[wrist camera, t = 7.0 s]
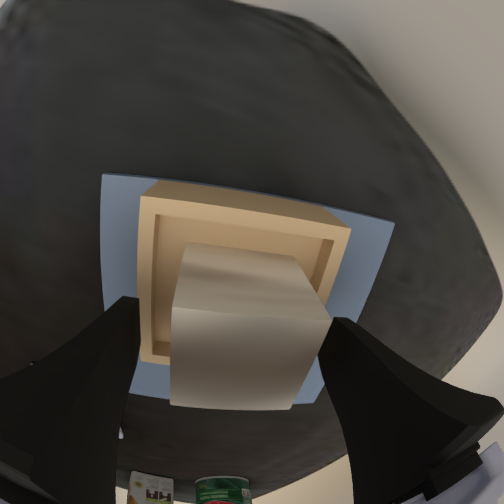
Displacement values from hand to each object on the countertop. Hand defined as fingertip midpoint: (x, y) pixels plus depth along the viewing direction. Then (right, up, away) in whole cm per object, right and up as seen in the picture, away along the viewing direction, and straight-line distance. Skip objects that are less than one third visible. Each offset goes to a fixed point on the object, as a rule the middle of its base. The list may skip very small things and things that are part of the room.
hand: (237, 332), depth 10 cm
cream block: (0, +1, +3) cm, 3 cm away
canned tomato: (-4, -31, +20) cm, 37 cm away
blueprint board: (-1, -1, +7) cm, 7 cm away
